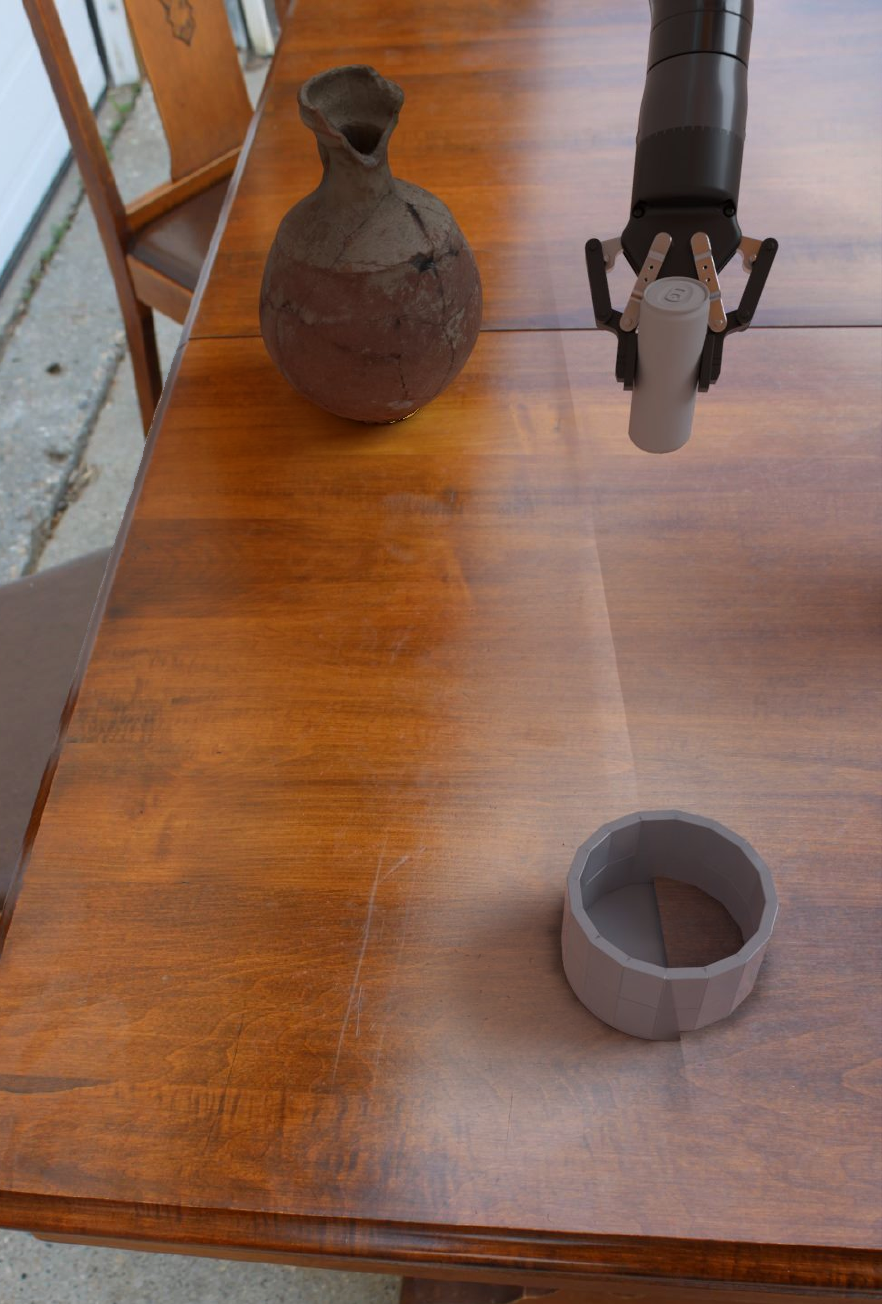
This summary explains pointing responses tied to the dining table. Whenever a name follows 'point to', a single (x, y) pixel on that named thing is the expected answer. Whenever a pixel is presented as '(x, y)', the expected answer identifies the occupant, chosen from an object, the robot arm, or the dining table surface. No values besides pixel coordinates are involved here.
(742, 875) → the pot
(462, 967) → the dining table surface
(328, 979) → the dining table surface
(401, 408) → the jug
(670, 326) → the beverage can
